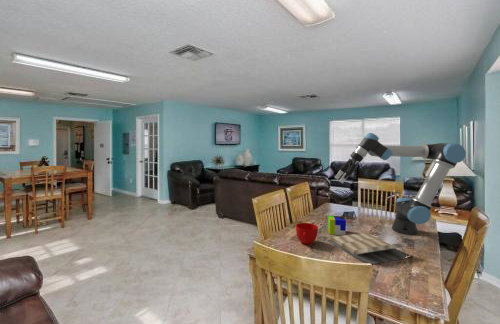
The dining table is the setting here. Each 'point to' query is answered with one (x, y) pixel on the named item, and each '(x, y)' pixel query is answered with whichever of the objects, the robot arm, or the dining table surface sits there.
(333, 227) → the puzzle toy
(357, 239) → the floor section
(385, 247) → the birch plank
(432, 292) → the dining table surface
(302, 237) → the ceramic cup
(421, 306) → the dining table surface
